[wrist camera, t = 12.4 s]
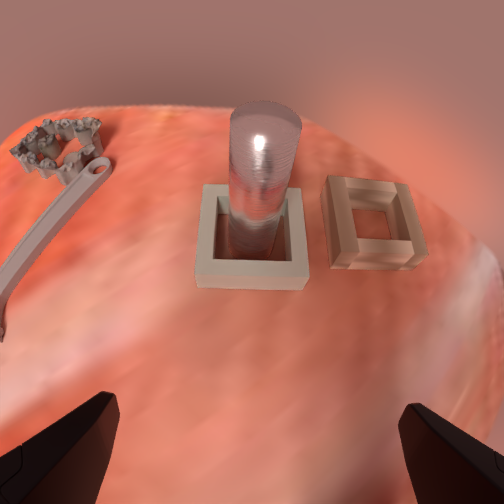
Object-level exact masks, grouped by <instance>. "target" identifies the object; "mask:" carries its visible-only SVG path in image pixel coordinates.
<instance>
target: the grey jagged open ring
mask: <svg viewBox="0 0 504 504" xmlns="http://www.w3.org/2000/svg"><path fill="white" fill-rule="evenodd" d="M101 124H102V122H101V121H99V119H95V118H89V117H86V118H84V117H83V119H82V120H79V119H75V120H70V119H61V120H55V121H54V122H52V121H51V120H50V119H47V120H46V119H44V120H43V124H42V125H41V126H40V127H37V126H35V127H34V129H33V131H32V132H29V133H28V134H27V135H26V137H24V138H23V139H21V141H20V144H18V145H17V146H15V147H14V148H12V149H11V150H9V151H10V152H11V154H12V155H13V156H14V157H16V158H17V159H18V160H19V162H20V164H21V165H22V167H23V169H24V170H25V172H26V173H31V172H32V171H33V170H35V169H37V170H38V171H39V173H40V175H41V177H42V178H44V179H48V178H49V177H50V176H52V175H54V174H56V175H57V177H58V179H59V181H60V183H61V184H62V185H65V186H67V185H68V184H69V183H70V182H71V181H72V180H73V179H74V178H75V177H76V176H77V175H78V174H79V173H80V172H81V171H82V170H83V169H84V167H83V166H84V164H85V163H86V161H88V160H89V159H91V158H93V157H99V156H100V155H101V154H102V153H103V152H104V150H103V147H102V144H101V139H100V135H99V132H98V130H99V127H100V125H101ZM57 134H59V135H60V137H61V139H62V140H63V141H65V142H66V141H70V140H72V139H74V138H78V140H79V142H80V144H81V145H83V146H84V147H83V148H81V149H80V150H79V152H72V153H70V154H68V155H67V156H66V157H65V158H64V160H63V164H64V165H62V166H61V167H60V168H58V166H57V164H56V162H55V161H52V160H55V159H56V158H57V157H59V155H60V154H61V148H60V146H59V143H58V141H57V139H56V137H55V136H56V135H57ZM85 145H86V146H85ZM40 153H42V155H43V157H44V158H45V159H43V160H42V161H41V163H40V162H39V160H38V158H37V155H39V154H40Z"/></svg>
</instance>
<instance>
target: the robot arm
mask: <svg viewBox="0 0 504 504" xmlns="http://www.w3.org/2000/svg"><path fill="white" fill-rule="evenodd" d="M119 418H120V412H119V407H118V403H117V399H116V395H115V394H114V393H110V392H106V391H101V392H99V393H98V394H96V395H95V396H93V397H92V398H91V399H89V400H88V401H86V402H85V403H83V404H82V405H80V406H79V407H77V408H76V409H74V410H73V411H71V412H70V413H68V414H67V415H65V416H64V417H62V418H61V419H59V420H58V421H56V422H55V423H53V424H52V425H50V426H49V427H47V428H45V429H44V430H42V431H41V432H39V433H38V434H36V435H35V436H33V437H32V438H30V439H29V440H27V441H25V442H24V443H22V446H21V445H19V446H17V447H16V448H14V449H13V450H11V451H9V452H8V453H6V454H4V455H3V456H1V457H0V504H95V502H96V499H97V496H98V493H99V490H100V487H101V484H102V482H103V479H104V476H105V473H106V470H107V467H108V464H109V461H110V458H111V454H112V449H113V444H114V440H115V436H116V431H117V427H118V423H119ZM398 429H399V433H400V438H401V443H402V448H403V453H404V458H405V462H406V466H407V469H408V473H409V476H410V479H411V482H412V486H413V489H414V492H415V496H416V499H417V502H418V504H504V456H502V455H501V454H499V453H498V452H496V451H493V449H491V448H489V447H488V446H486V445H485V444H483V443H481V442H480V441H478V440H477V439H475V438H473V437H472V436H470V435H469V434H467V433H466V432H464V431H462V430H461V429H459V428H458V427H456V426H455V425H453V424H451V423H450V422H448V421H447V420H445V419H444V418H442V417H441V416H439V415H438V414H436V413H434V412H433V411H431V410H430V409H428V408H427V407H425V406H424V405H422V404H421V403H412V404H408V405H407V406H406V408H405V410H404V412H403V414H402V416H401V418H400V420H399V423H398Z"/></svg>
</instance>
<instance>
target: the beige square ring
mask: <svg viewBox="0 0 504 504" xmlns="http://www.w3.org/2000/svg"><path fill="white" fill-rule="evenodd" d="M320 200H321V206H322V213H323V220H324V227H325V234H326V242H327V250H328V258H329V266H330V269H357V270H413V269H414V268H415V267H416V266H417V265H418V264H419V263H420V262H421V261H423V260H424V259H425V258H426V257H427V256H428V255H429V254H428V250H427V246H426V242H425V239H424V235H423V232H422V228H421V225H420V222H419V218H418V215H417V212H416V209H415V206H414V203H413V200H412V197H411V194H410V191H409V188H408V185H407V184H401V183H393V182H386V181H378V180H369V179H361V178H352V177H342V176H331V175H328V177H327V179H326V182H325V185H324V187H323V190H322V193H321V195H320ZM352 209H358V210H370V211H382V212H385V215H386V219H387V222H388V226H389V230H390V235H391V239H392V240H384V239H365V238H357V234H356V229H355V224H354V219H353V214H352Z"/></svg>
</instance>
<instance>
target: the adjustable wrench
mask: <svg viewBox="0 0 504 504" xmlns="http://www.w3.org/2000/svg"><path fill="white" fill-rule="evenodd" d="M101 166H106V167H107V168H106V169H105V170H104V171H103V172H101V173H99V174H93V172H94V171H95V170H96V169H97V168H99V167H101ZM112 171H113V168H112V166H111V163H110V161H109V159H108V158H106V157H99V158H96V159H94V160H92V161H91V162H90V163H89V164H88V165H87V166H86V167H85V168H84V169H83V170H82V171H81V172H80V173H79V174H78V175H77V176H76V177H75V178H74V179H73V180H72V181H71V182H70V183H69V184H68V185H67V186H66V188H65V189H64V190H63V191H62V192H61V193H60V194H59V195H58V196H57V197H56V198H55V200H54V201H53V202H52V203H51V204H50V205H49V206H48V207H47V209H46V210H45V211H44V212H43V213H42V214H41V216H40V217H39V218H38V219H37V220H36V222H35V223H34V224H33V225H32V226H31V228H30V229H29V230H28V231H27V233H26V234H25V235H24V236H23V238H22V239H21V240H20V242H19V243H18V244H17V246H16V247H15V248H14V250H13V251H12V252H11V254H10V255H9V256H8V258H7V259H6V260H5V262H4V263H3V265H2V266H1V267H0V342H2V341H3V338H2V335H3V334H4V330H3V328H1V322H2V315H3V310H4V307H5V304H6V302H7V300H8V298H9V296H10V295H11V293H12V292H13V290H14V289H15V287H16V286H17V285H18V283H19V282H20V280H21V279H22V278H23V276H24V275H25V274H26V272H27V271H28V270H29V268H30V267H31V266H32V264H33V263H34V262H35V260H36V259H37V258H38V257H39V255H40V254H41V253H42V251H43V250H44V249H45V248H46V246H47V245H48V244H49V243H50V242H51V240H52V239H53V238H54V237H55V236H56V234H57V233H58V232H59V231H60V230H61V228H62V227H63V226H64V225H65V224H66V223H67V222H68V220H69V219H70V218H71V217H72V216H73V215H74V214H75V213H76V211H77V210H78V209H79V208H80V207H81V206H82V205H83V204H84V203H85V202H86V201H87V199H88V198H89V197H90V196H91V195H92V194H93V193H94V192H95V191H96V190H97V189H98V188H99V187H100V186H101V185H102V184H103V183H104V182H105V181H106V180H107V179H108V178H109V177H110V175H111V174H112Z"/></svg>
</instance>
